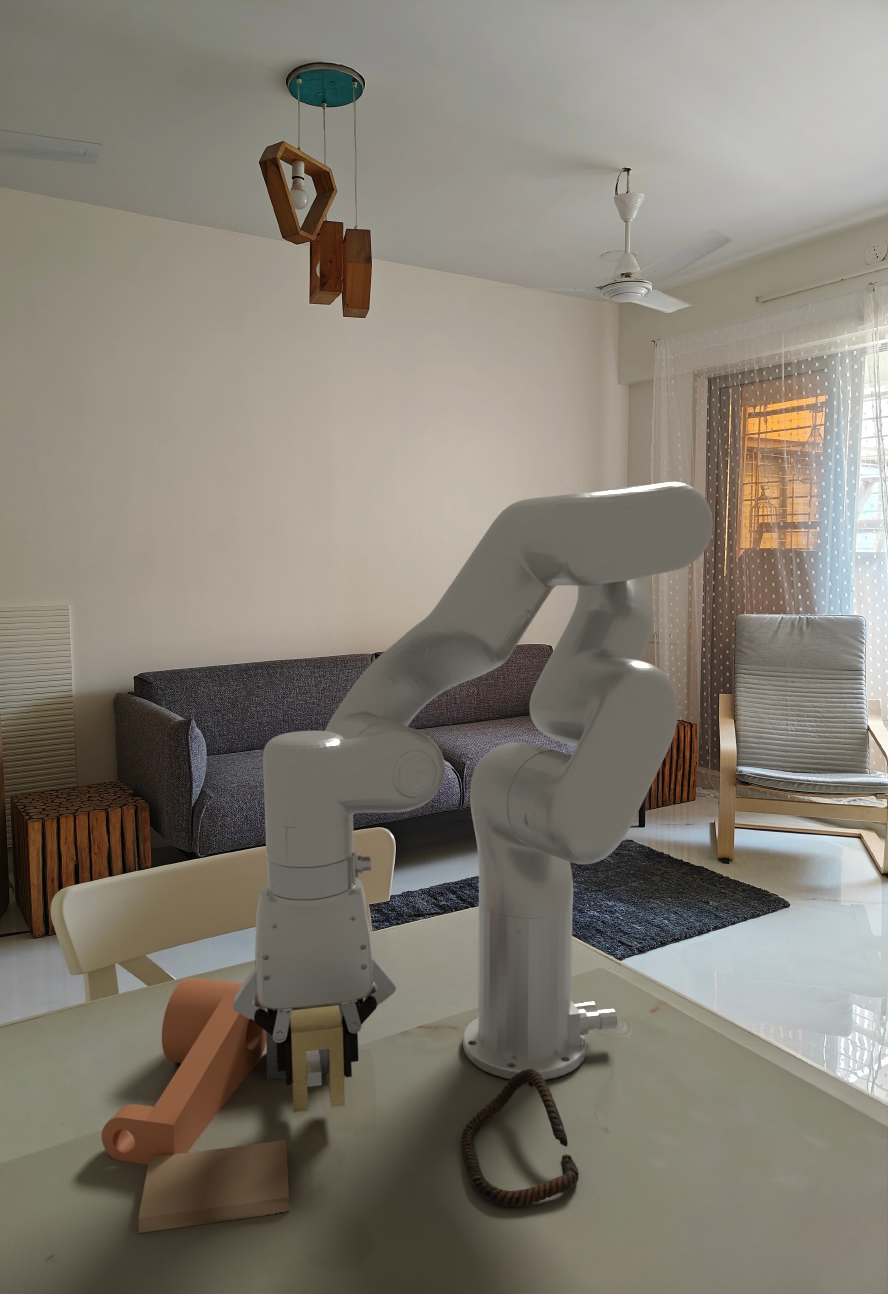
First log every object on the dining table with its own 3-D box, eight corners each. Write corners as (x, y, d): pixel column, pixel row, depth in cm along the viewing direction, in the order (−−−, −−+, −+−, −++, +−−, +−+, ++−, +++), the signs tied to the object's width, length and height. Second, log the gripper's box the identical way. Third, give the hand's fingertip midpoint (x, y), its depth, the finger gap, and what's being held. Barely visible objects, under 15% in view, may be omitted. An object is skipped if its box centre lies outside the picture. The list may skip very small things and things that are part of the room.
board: (286, 1153, 75) (286, 1140, 75) (289, 1211, 68) (288, 1196, 68) (150, 1171, 73) (149, 1157, 73) (138, 1233, 66) (138, 1217, 66)
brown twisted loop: (579, 1172, 67) (448, 1154, 69) (577, 1234, 68) (447, 1215, 70) (581, 1061, 80) (471, 1049, 82) (579, 1114, 81) (470, 1101, 82)
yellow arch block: (340, 1080, 82) (338, 1005, 81) (344, 1105, 78) (342, 1027, 78) (292, 1086, 81) (290, 1010, 81) (293, 1112, 77) (291, 1033, 77)
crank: (201, 1036, 95) (199, 964, 94) (271, 1045, 93) (270, 971, 92) (88, 1157, 75) (85, 1067, 74) (174, 1170, 73) (172, 1078, 73)
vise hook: (346, 1038, 94) (345, 967, 93) (363, 1132, 78) (362, 1047, 77) (264, 1047, 92) (263, 974, 91) (265, 1145, 76) (264, 1057, 76)
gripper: (400, 852, 83) (404, 1039, 85) (213, 868, 80) (222, 1062, 82) (413, 880, 76) (418, 1083, 78) (209, 899, 72) (219, 1111, 74)
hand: (318, 1070), depth 80 cm, fingers open, 4 cm apart
